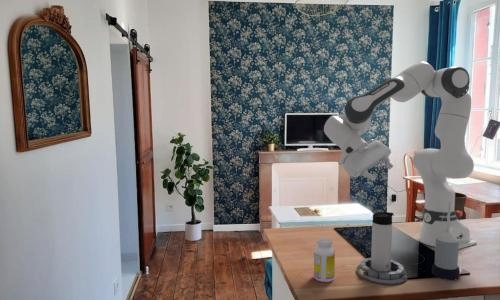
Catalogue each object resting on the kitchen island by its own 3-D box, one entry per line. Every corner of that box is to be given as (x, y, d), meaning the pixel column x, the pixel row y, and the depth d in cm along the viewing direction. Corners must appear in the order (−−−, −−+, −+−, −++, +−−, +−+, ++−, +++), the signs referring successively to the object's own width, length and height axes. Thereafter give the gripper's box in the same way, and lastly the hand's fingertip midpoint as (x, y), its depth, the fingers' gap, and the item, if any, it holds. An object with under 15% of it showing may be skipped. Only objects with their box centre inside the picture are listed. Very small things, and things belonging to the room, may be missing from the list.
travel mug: (392, 275, 121) (395, 215, 119) (371, 273, 123) (373, 214, 121) (390, 267, 127) (392, 210, 125) (369, 266, 129) (371, 209, 127)
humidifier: (463, 281, 120) (467, 205, 117) (436, 279, 121) (439, 204, 118) (454, 270, 128) (458, 199, 125) (428, 269, 129) (431, 198, 126)
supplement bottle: (335, 275, 124) (336, 238, 123) (333, 284, 118) (334, 244, 116) (315, 272, 126) (316, 236, 125) (312, 281, 120) (312, 242, 118)
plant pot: (430, 230, 172) (431, 196, 170) (428, 221, 185) (429, 190, 184) (467, 234, 166) (469, 199, 164) (462, 224, 180) (464, 192, 178)
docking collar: (386, 262, 135) (386, 254, 135) (418, 280, 120) (418, 271, 119) (347, 267, 130) (347, 259, 130) (376, 287, 115) (376, 278, 115)
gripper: (371, 142, 150) (397, 166, 143) (335, 164, 141) (362, 190, 134) (376, 132, 145) (404, 156, 138) (340, 154, 136) (368, 180, 129)
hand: (383, 173), depth 136 cm, fingers open, 8 cm apart
